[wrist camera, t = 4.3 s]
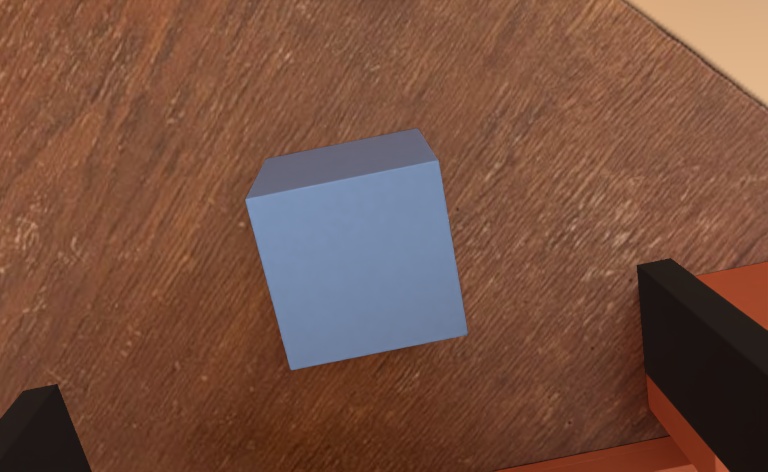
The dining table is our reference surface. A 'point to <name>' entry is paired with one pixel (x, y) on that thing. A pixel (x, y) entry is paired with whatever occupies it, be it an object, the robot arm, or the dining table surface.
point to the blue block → (357, 248)
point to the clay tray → (619, 460)
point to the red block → (757, 300)
